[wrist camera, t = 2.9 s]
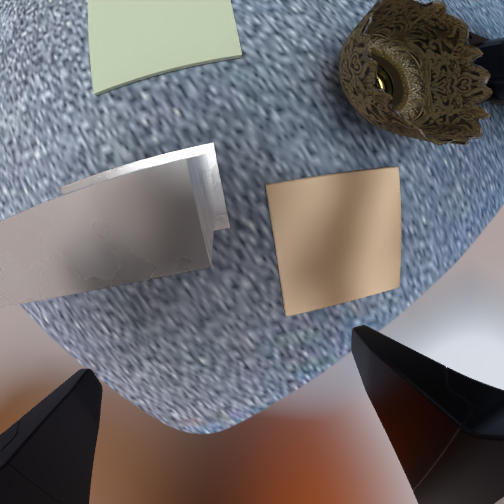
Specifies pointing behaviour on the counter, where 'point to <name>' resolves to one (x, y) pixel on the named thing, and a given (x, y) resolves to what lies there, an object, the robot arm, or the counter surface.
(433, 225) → the counter surface
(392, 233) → the oak mat
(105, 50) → the sage mat
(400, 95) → the brown ornate lampshade
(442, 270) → the counter surface
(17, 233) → the box
